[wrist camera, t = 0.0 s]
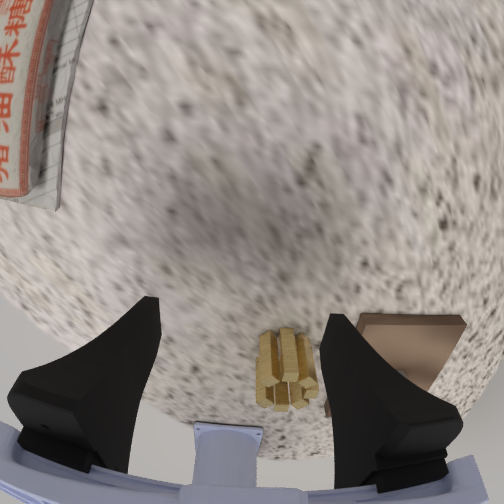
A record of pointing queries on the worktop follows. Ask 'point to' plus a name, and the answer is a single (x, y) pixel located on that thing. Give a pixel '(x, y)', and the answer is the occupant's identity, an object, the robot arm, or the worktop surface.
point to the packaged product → (36, 94)
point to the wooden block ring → (285, 371)
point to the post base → (412, 343)
